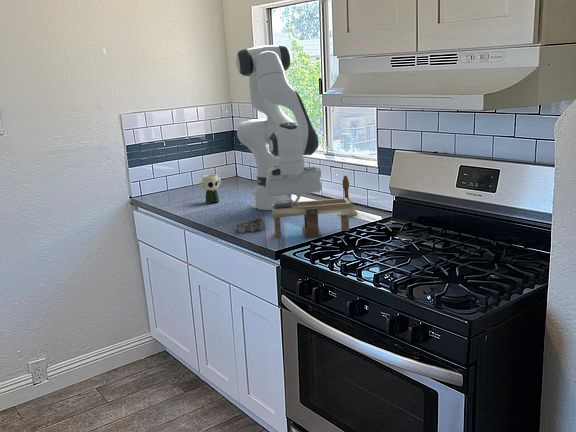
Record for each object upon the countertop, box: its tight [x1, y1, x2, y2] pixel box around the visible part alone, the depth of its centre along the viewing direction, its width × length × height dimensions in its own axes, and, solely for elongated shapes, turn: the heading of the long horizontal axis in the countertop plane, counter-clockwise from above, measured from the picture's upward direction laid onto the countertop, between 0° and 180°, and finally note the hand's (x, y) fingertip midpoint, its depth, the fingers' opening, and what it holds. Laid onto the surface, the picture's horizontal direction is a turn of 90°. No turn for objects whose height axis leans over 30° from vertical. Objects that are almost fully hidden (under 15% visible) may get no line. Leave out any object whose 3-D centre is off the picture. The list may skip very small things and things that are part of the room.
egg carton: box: [235, 216, 266, 233], centre depth 227 cm, size 11×8×4 cm
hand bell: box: [336, 175, 359, 217], centre depth 238 cm, size 8×8×16 cm
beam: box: [271, 197, 350, 219], centre depth 215 cm, size 9×28×3 cm, turn 93°
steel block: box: [274, 200, 292, 209], centre depth 214 cm, size 5×6×4 cm
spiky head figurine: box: [199, 174, 222, 203], centre depth 277 cm, size 11×7×13 cm, turn 126°
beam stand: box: [273, 208, 350, 239], centre depth 216 cm, size 14×27×10 cm, turn 93°
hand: (294, 205), depth 214 cm, fingers closed
